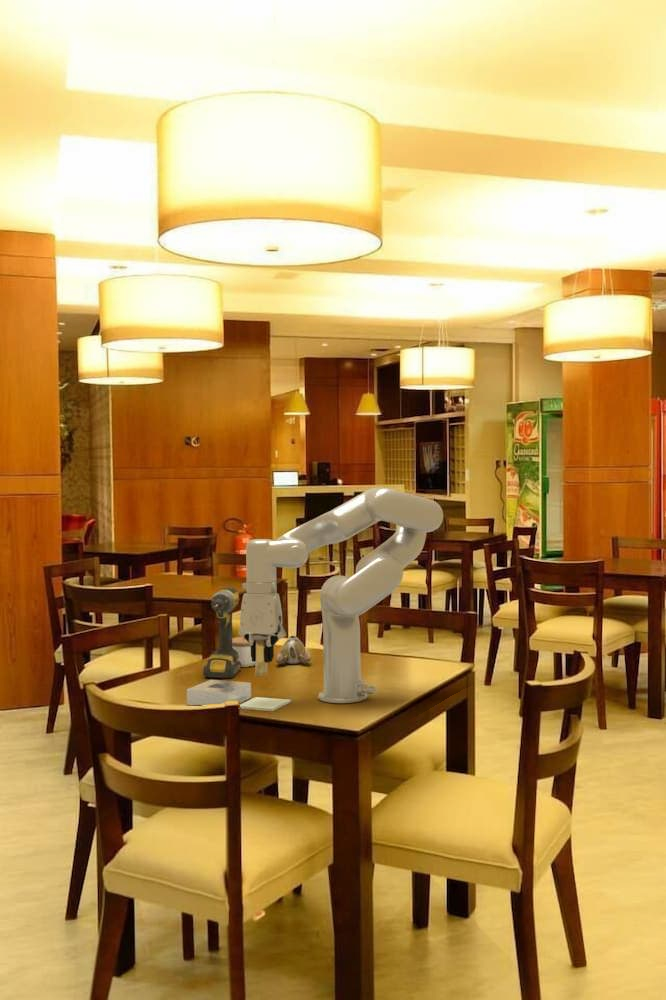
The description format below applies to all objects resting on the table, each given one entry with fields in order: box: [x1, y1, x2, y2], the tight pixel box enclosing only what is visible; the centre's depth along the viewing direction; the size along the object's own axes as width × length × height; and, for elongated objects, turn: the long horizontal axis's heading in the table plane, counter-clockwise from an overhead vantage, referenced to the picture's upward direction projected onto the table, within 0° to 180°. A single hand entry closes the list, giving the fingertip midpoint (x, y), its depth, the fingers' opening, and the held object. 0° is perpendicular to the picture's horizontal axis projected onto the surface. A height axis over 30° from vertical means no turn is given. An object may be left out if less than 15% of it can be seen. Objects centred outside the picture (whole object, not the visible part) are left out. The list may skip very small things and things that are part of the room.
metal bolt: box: [251, 634, 268, 677], centre depth 245 cm, size 5×5×10 cm
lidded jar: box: [232, 636, 255, 668], centre depth 298 cm, size 11×11×9 cm
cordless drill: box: [202, 586, 242, 679], centre depth 282 cm, size 9×20×25 cm, turn 172°
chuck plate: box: [186, 679, 252, 706], centre depth 251 cm, size 12×12×4 cm
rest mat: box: [239, 696, 292, 712], centre depth 246 cm, size 10×10×1 cm
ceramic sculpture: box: [275, 635, 312, 665], centre depth 300 cm, size 11×9×15 cm
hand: (262, 660), depth 246 cm, fingers closed on metal bolt, 3 cm apart
